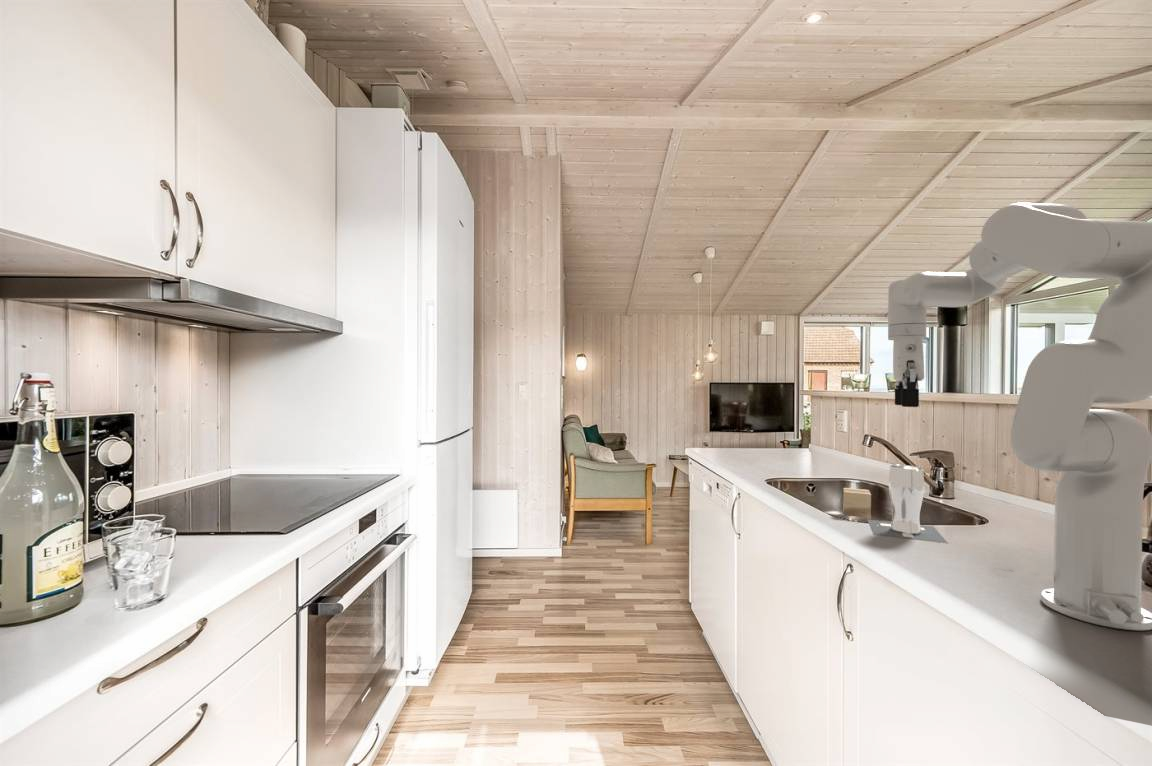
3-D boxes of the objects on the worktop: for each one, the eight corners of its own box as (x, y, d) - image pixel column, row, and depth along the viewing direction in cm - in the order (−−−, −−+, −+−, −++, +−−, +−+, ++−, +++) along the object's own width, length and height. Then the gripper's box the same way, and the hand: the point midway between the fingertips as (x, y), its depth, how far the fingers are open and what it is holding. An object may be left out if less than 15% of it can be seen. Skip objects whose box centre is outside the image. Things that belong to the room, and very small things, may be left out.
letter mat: (948, 547, 110) (948, 543, 110) (873, 538, 116) (873, 534, 116) (933, 529, 123) (933, 526, 123) (867, 522, 128) (867, 519, 128)
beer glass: (929, 536, 115) (930, 470, 115) (895, 534, 116) (895, 468, 116) (915, 527, 121) (916, 465, 121) (883, 525, 123) (884, 464, 123)
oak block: (870, 521, 130) (870, 494, 130) (844, 518, 132) (844, 491, 132) (868, 516, 135) (868, 489, 135) (843, 513, 138) (843, 487, 138)
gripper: (934, 328, 109) (933, 408, 109) (918, 335, 125) (917, 404, 125) (893, 330, 113) (893, 407, 113) (883, 336, 128) (882, 404, 128)
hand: (906, 405), depth 119 cm, fingers open, 9 cm apart
